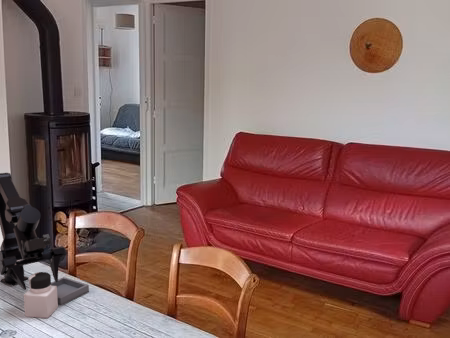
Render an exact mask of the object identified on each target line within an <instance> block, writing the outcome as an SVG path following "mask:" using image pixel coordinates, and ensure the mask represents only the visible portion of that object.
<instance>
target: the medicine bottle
mask: <svg viewBox="0 0 450 338" xmlns="http://www.w3.org/2000/svg"><path fill="white" fill-rule="evenodd" d="M51 276H52V275H51V274H50V273H48V272H47V271H46V272H44V271H38V272H35V273H32V274H31V275H29V277H28V285H29V287H28V288H29V289H28V290H26V291H25V293H24V294H23V305H24V307H23V308H24V316H25V317H26V318H37V319H38V318H41V319H42V318H43V319H48V318H49V317H51V315H52V314H53V313H54V312H55V311H56V310H57V308H58V307H59V305H58V299H57V286H51V282H52V277H51Z"/></svg>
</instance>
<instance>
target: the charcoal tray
mask: <svg viewBox="0 0 450 338" xmlns="http://www.w3.org/2000/svg"><path fill="white" fill-rule="evenodd" d="M51 286H57V299H58V306H60V307H62V306H64V305H65V304H68V303H70V302H73V300H76V299H78V298H80V297H82V296H84V295H85V294H88V293H89V292H90V288H89V287H90V285H89V284H88V283H87V284H86V283H83V282H80V281H77V280H75V279H71V278H69V277H65V276H63V277H60V278H58V281H57V282H55V280H54V281H51Z"/></svg>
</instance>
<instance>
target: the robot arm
mask: <svg viewBox="0 0 450 338" xmlns="http://www.w3.org/2000/svg"><path fill="white" fill-rule="evenodd" d="M41 214H42V213H41V212H40V211H39V210H38V209H37V208H36V207H33V206H32V205H31V204H30V203H29V202H28V201H27V199H24V198H23V197H21V196H20V194H19V192H18V190H17V187H16V186H15V184H14V182H13V179H12V174H11V173H10V172H1V173H0V230H1V235H2V239H3V240H2V241H1V244H0V275H1V276H3V275H4V278H2V279H0V282H1V283H4V284H7V285H10V286H14V285H17V284H18V285H19V286H20V287H21V288H22V289H23V291H27V285H26V282H25V281H26V280H29V277H28V276H25V269H24V266H26V265H27V266H28V265H31V264H34V263H39V262H44V261H48V260H49V262H50V265H49V267H50V269H51V273H52V276H53V279H54V281H55V282H57V281H58V279H59V265H60V264H61V263H62V262H63V261H64V260H65V258H66V256H67V253H68V252H67V249H66V247H64V246H57V247H53V248H50V250H49V251H50V252H47V253H44V252H45V249H46V248H47V247H46V246H49V245H51V244H52V240H51V237H50V234H49V233H47V234H43V235H41V237H39V236H37V233H36V229H37V227H38V225H39V223H40V219H41V216H42V215H41ZM43 253H44V254H43Z"/></svg>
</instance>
